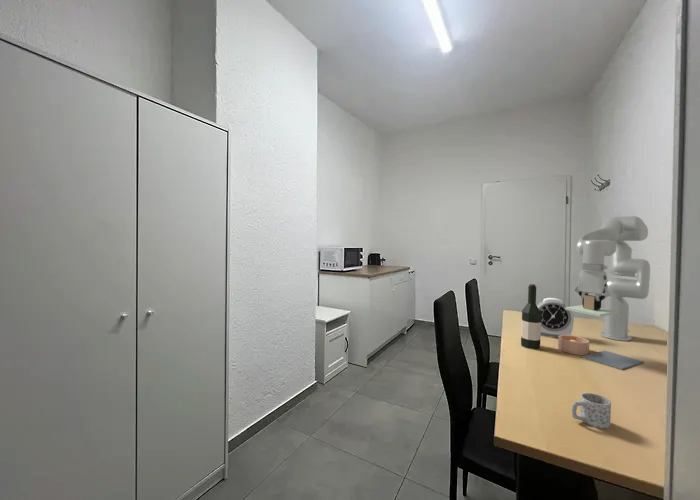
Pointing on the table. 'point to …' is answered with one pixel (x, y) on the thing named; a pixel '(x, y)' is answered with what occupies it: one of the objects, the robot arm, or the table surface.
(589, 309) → the lid
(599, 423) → the mug
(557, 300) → the alarm clock
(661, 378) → the table surface
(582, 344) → the bowl
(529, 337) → the wine bottle
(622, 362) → the mat
